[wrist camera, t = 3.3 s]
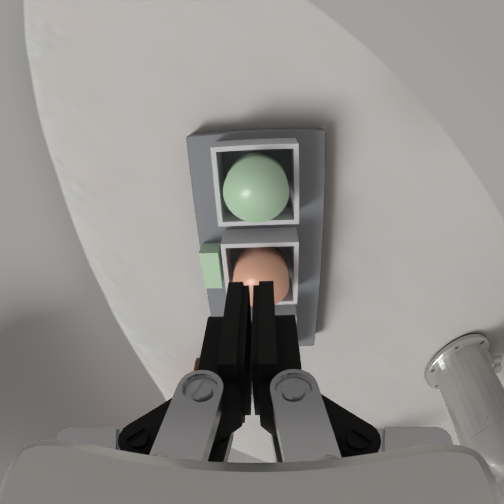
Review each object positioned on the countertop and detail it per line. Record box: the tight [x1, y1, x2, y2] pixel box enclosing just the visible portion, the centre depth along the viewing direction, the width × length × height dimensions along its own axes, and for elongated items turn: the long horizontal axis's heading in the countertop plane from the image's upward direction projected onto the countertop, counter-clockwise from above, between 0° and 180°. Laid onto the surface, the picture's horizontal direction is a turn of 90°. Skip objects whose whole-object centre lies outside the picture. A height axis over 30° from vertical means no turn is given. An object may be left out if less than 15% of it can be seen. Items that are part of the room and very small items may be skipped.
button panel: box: [186, 128, 325, 346], centre depth 31 cm, size 25×12×5 cm, turn 3°
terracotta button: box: [232, 247, 289, 307], centre depth 29 cm, size 5×5×3 cm
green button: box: [223, 152, 289, 223], centre depth 25 cm, size 5×5×3 cm
